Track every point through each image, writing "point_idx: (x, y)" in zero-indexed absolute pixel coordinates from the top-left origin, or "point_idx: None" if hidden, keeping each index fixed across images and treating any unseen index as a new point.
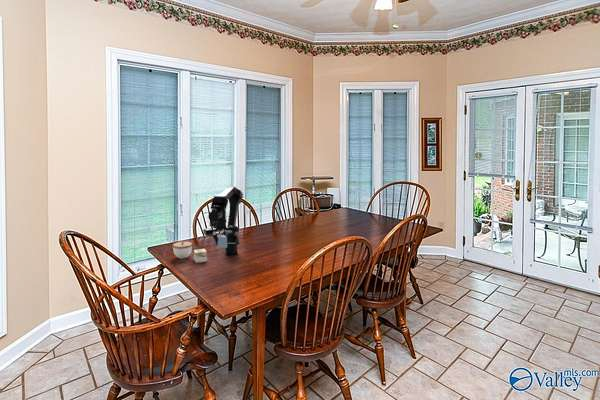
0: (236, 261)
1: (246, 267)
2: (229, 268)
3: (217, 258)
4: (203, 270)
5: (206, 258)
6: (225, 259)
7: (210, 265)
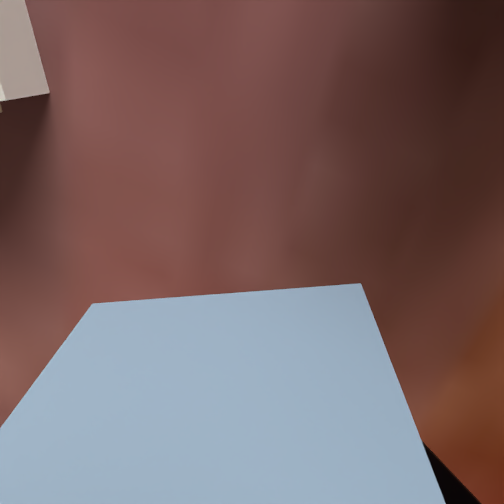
0: (452, 278)
1: (460, 479)
2: None
3: (228, 18)
4: (18, 398)
5: (17, 96)
6: (340, 130)
7: (96, 289)
